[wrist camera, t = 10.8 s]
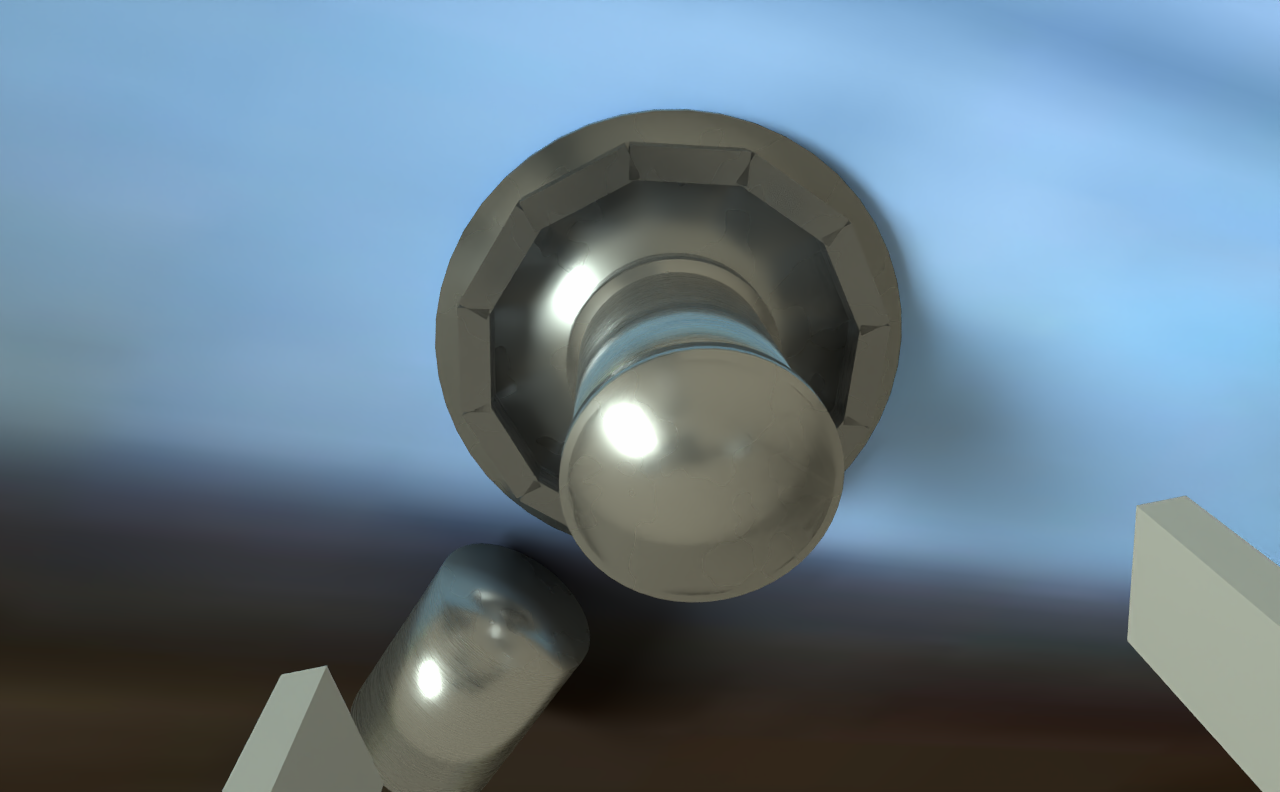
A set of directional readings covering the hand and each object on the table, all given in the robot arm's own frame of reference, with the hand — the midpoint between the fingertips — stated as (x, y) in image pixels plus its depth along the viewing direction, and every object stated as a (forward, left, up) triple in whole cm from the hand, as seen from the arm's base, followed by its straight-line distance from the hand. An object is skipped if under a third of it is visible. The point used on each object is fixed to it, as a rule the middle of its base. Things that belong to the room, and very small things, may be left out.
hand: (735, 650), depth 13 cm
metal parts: (+5, 0, -16) cm, 17 cm away
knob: (0, 0, -15) cm, 15 cm away
